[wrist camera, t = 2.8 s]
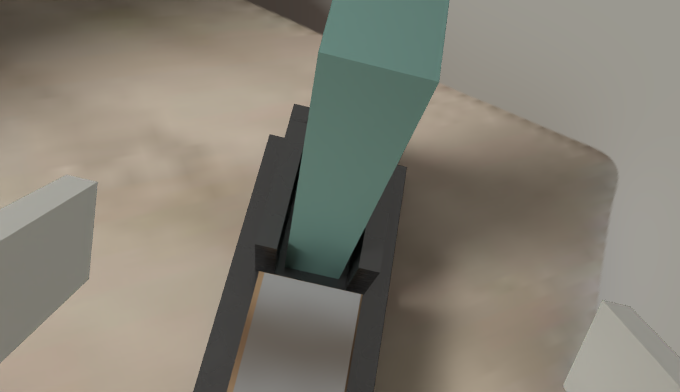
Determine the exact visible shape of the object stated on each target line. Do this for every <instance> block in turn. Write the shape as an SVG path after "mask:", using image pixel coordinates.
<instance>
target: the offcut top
mask: <svg viewBox="0 0 680 392" xmlns="http://www.w3.org/2000/svg"><path fill="white" fill-rule="evenodd" d="M360 298H361V294H357V293H353V292H349V291H344V290H340V289H335V288H331V287H326V286H322V285H318V284H313V283H309V282H304V281H300V280H295V279H291V278H287V277H282V276H278V275H273V274H269V273H264V276H263V280H262V284H261V288H260V292H259V295H258V299H257V303H256V307H255V311H254V314H253V318H252V322H251V326H250V329H249V333H248V337H247V341H246V345H245V348H244V352H243V356H242V360H241V363H240V367H239V371H238V375H237V379H236V382H235V386H234V390H233V392H344V391H345V385H346V380H347V374H348V368H349V362H350V356H351V350H352V345H353V339H354V333H355V327H356V321H357V316H358V310H359V304H360Z"/></svg>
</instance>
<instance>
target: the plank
mask: <svg viewBox="0 0 680 392" xmlns="http://www.w3.org/2000/svg"><path fill="white" fill-rule="evenodd" d="M448 7H449V0H332V4H331V8H330V12H329V15H328V19H327V23H326V26H325V30H324V33H323V37H322V41H321V45H320V48H319V52H318V58H317V65H316V71H315V77H314V84H313V90H312V96H311V103H310V109H309V115H308V122H307V128H306V134H305V141H304V147H303V153H302V160H301V166H300V172H299V179H298V185H297V192H296V198H295V204H294V211H293V217H292V223H291V230H290V236H289V242H288V249H287V255H286V261H285V267H287V268H292V269H296V270H300V271H305V272H309V273H314V274H318V275H322V276H327V277H331V278H336V279H339V278H340V276H341V274H342V272H343V270H344V268H345V266H346V264H347V262H348V260H349V258H350V256H351V254H352V252H353V250H354V248H355V246H356V244H357V242H358V240H359V238H360V236H361V235H362V233H363V231H364V229H365V227H366V225H367V223H368V221H369V219H370V217H371V215H372V213H373V211H374V209H375V207H376V205H377V203H378V201H379V199H380V197H381V195H382V193H383V191H384V189H385V187H386V185H387V183H388V181H389V179H390V177H391V176H392V174H393V172H394V170H395V168H396V166H397V164H398V162H399V160H400V158H401V156H402V154H403V152H404V150H405V148H406V146H407V144H408V142H409V140H410V138H411V136H412V134H413V132H414V130H415V128H416V126H417V124H418V122H419V120H420V119H421V117H422V115H423V113H424V111H425V109H426V107H427V105H428V103H429V101H430V99H431V97H432V95H433V93H434V91H435V89H436V87H437V85H438V83H439V79H440V71H441V62H442V55H443V46H444V39H445V30H446V23H447V15H448Z"/></svg>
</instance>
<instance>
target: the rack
mask: <svg viewBox="0 0 680 392" xmlns="http://www.w3.org/2000/svg"><path fill="white" fill-rule="evenodd" d="M309 109H310V107H305V106H301V105H297V104H294V106H293V110H292V113H291V117H290V121H289V124H288V128H287V131H286V135H285V138H283V137H279V136H274V135H269V139H268V142H267V146H266V149H265V152H264V156H263V159H262V162H261V166H260V169H259V172H258V176H257V179H256V182H255V186H254V189H253V193H252V196H251V199H250V203H249V206H248V209H247V213H246V216H245V219H244V223H243V226H242V230H241V233H240V236H239V240H238V243H237V246H236V250H235V253H234V256H233V260H232V263H231V267H230V270H229V273H228V277H227V280H226V283H225V287H224V290H223V293H222V297H221V300H220V304H219V307H218V310H217V314H216V317H215V320H214V324H213V327H212V330H211V334H210V337H209V341H208V344H207V347H206V351H205V354H204V357H203V361H202V364H201V367H200V371H199V374H198V378H197V381H196V384H195V388H194V391H193V392H227V389H228V385H229V381H230V378H231V374H232V370H233V367H234V363H235V359H236V355H237V352H238V348H239V344H240V341H241V337H242V333H243V329H244V326H245V322H246V318H247V315H248V311H249V307H250V303H251V300H252V296H253V292H254V289H255V285H256V281H257V278H258V274H259V271H261V272H265V273H270V274H274V275H279V276H283V277H288V278H292V279H296V280H301V281H305V282H310V283H314V284H319V285H323V286H327V287H332V288H336V289H341V290H345V291H350V292H354V293H358V294H363V296H362V302H361V308H360V314H359V320H358V326H357V332H356V337H355V343H354V349H353V355H352V361H351V367H350V373H349V379H348V384H347V390H346V392H374V386H375V379H376V372H377V365H378V359H379V352H380V345H381V338H382V331H383V325H384V318H385V311H386V304H387V298H388V291H389V284H390V277H391V270H392V264H393V257H394V250H395V243H396V237H397V230H398V223H399V216H400V209H401V203H402V196H403V189H404V182H405V176H406V169H407V167H404V166H400V165H397V166H396V168H395V170H394V172H393V174H392V176H391V177H390V179H389V181H388V183H387V185H386V187H385V189H384V191H383V193H382V195H381V197H380V199H379V201H378V203H377V205H376V207H375V209H374V211H373V213H372V215H371V217H370V219H369V221H368V223H367V225H366V227H365V229H364V231H363V233H362V235H361V236H360V238H359V240H358V242H357V244H356V246H355V248H354V250H353V252H352V254H351V256H350V258H349V260H348V262H347V264H346V266H345V268H344V270H343V272H342V274H341V276H340V278H339V279H336V278H331V277H327V276H322V275H318V274H314V273H309V272H305V271H300V270H296V269H292V268H287V267H285V261H286V255H287V249H288V242H289V236H290V230H291V223H292V217H293V211H294V204H295V198H296V192H297V185H298V179H299V172H300V166H301V160H302V153H303V147H304V141H305V134H306V128H307V122H308V115H309Z"/></svg>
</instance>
